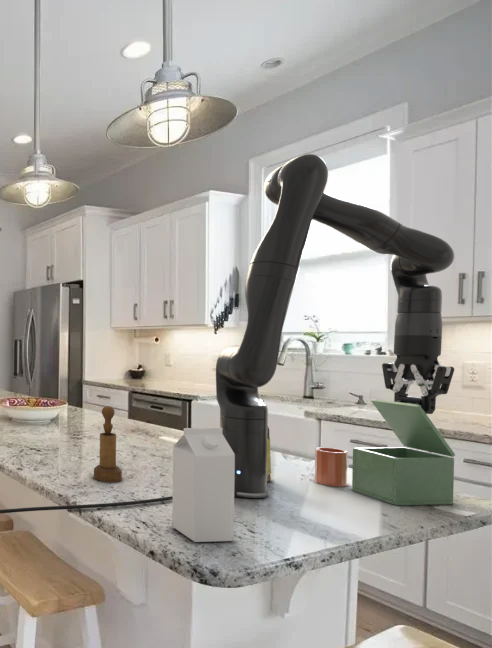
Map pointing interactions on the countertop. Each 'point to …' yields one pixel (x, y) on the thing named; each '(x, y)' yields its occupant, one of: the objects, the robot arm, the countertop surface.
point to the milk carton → (203, 485)
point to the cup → (331, 466)
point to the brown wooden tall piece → (108, 451)
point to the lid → (412, 425)
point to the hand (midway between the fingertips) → (413, 411)
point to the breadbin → (403, 475)
